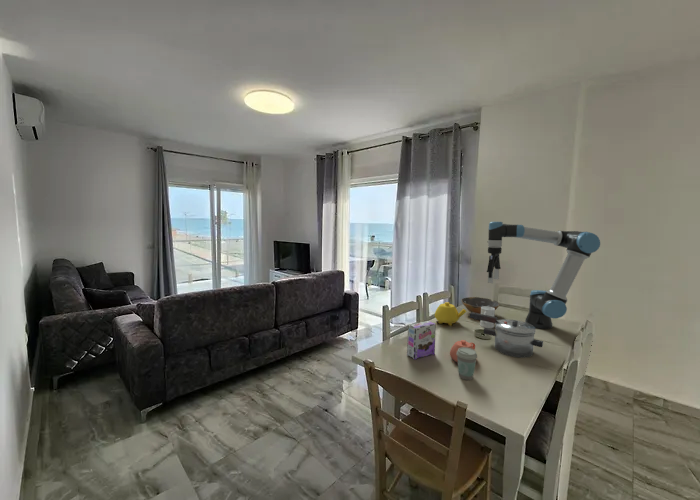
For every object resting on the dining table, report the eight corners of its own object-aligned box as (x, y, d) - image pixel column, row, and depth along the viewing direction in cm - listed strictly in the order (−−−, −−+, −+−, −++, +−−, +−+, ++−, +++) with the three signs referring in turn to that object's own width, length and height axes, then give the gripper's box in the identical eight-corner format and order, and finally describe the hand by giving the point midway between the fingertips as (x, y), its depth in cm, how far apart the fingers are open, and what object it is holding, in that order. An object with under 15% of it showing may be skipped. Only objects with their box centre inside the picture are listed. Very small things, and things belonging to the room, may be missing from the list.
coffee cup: (452, 372, 138) (453, 347, 137) (470, 371, 139) (471, 346, 137) (460, 382, 129) (461, 355, 128) (479, 381, 130) (481, 355, 129)
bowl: (454, 314, 219) (455, 301, 218) (470, 307, 236) (471, 295, 235) (489, 323, 201) (490, 309, 200) (504, 315, 218) (505, 301, 216)
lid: (538, 326, 161) (539, 320, 161) (531, 337, 147) (531, 330, 146) (476, 314, 182) (476, 308, 182) (464, 322, 168) (464, 315, 167)
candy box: (414, 360, 149) (415, 328, 148) (406, 355, 155) (407, 324, 153) (435, 354, 156) (436, 323, 154) (427, 349, 161) (428, 320, 159)
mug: (488, 330, 188) (489, 312, 187) (475, 327, 194) (476, 308, 193) (496, 326, 196) (497, 308, 195) (483, 322, 202) (484, 305, 201)
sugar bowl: (444, 357, 153) (445, 337, 151) (466, 352, 158) (467, 333, 157) (461, 368, 141) (462, 347, 140) (484, 363, 146) (485, 343, 145)
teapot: (467, 322, 203) (468, 302, 201) (463, 329, 190) (464, 308, 188) (438, 317, 213) (438, 298, 212) (431, 323, 200) (432, 303, 199)
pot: (544, 351, 160) (546, 329, 159) (538, 363, 146) (540, 340, 145) (488, 337, 178) (489, 317, 177) (478, 347, 164) (479, 326, 163)
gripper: (493, 244, 197) (492, 277, 199) (482, 248, 177) (481, 283, 180) (506, 245, 192) (504, 278, 194) (496, 249, 173) (494, 285, 175)
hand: (493, 281), depth 187 cm, fingers open, 13 cm apart
